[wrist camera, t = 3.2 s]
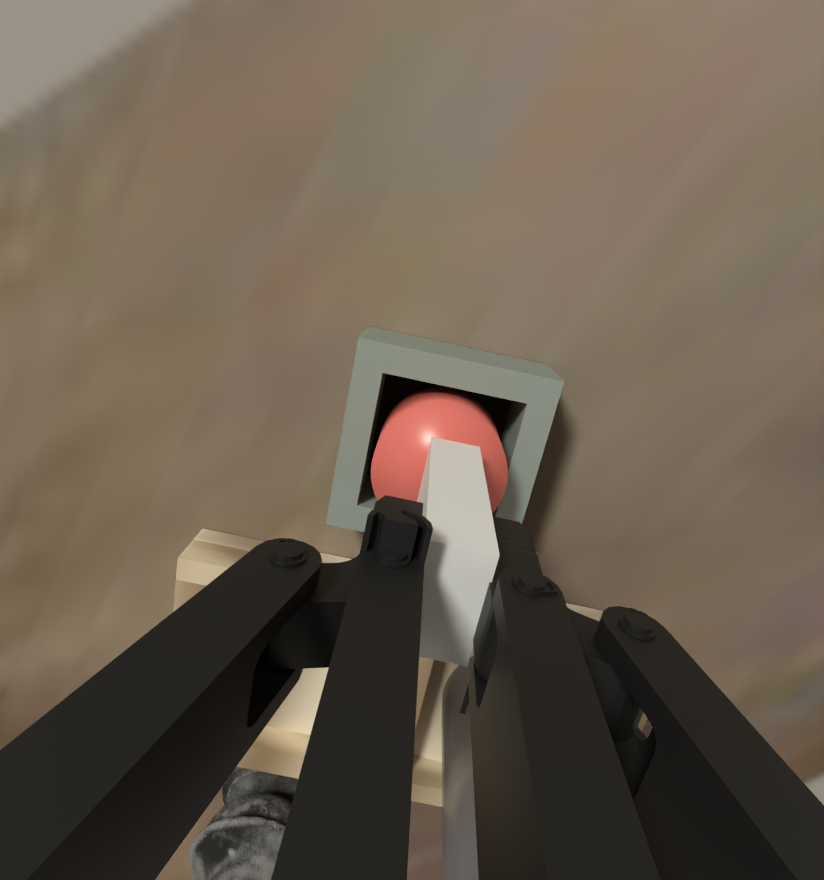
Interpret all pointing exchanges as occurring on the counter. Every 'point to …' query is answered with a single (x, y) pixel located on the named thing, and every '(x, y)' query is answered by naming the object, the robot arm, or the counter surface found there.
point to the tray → (323, 681)
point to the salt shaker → (244, 828)
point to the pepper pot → (458, 781)
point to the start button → (411, 436)
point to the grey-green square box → (451, 367)
